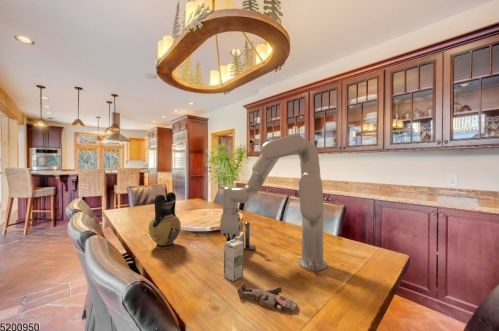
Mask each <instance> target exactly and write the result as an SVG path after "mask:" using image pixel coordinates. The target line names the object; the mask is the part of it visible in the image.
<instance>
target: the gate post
mask: <svg viewBox="0 0 499 331" xmlns="http://www.w3.org/2000/svg"><path fill="white" fill-rule="evenodd" d="M250 225H251V223H250V222H249V221H246V222H245V223H244V229H245V232H244V251H255V249H256V245H255V244H253V245H252V244H250V243H251V242H250V239H251V238H250V237H251V236H250V235H251V234H250Z"/></svg>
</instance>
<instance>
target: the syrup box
mask: <svg viewBox="0 0 499 331" xmlns="http://www.w3.org/2000/svg"><path fill="white" fill-rule="evenodd" d="M234 239H235V238H234ZM234 239H233V240H231V241H228V242H227V241H226V242H224V243H223V278H225V279H227V280H229V281H232V282H235V281H237V280H239V279H240V278H242V277H243V276H244V248H243V242H241V241H238V240H234Z"/></svg>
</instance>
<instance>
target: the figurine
mask: <svg viewBox="0 0 499 331" xmlns="http://www.w3.org/2000/svg"><path fill="white" fill-rule="evenodd" d="M246 284H247V283H246V282H245V281H243V282H242V283H241V286H238V288H237V289H236V290H237V295H238V297H239V298H241V299H243V298H247V299H248V298H249V299H251V300H252V299H253V300H255V301H256V302H259V304H260V305H261V306H262V307H265V308H269V309H272V310H274V309H275V310H277V312H280V313H281V312H284V313H287V314H288V313H289V314H294V313H296V309H297V308H298V303H297V302H295V301H293V300H292V299H290V298H288V297H286V296H283V295H281V293H282V290H283V289H282V288H283V287H282V286H277V287H273V288H270V289H266V290H263V289H259V288H253V287H247V285H246Z"/></svg>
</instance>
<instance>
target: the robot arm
mask: <svg viewBox="0 0 499 331" xmlns="http://www.w3.org/2000/svg"><path fill="white" fill-rule="evenodd" d="M293 155H297V156H298V158H299V160H300V161H299V162H300V164H299V165H300V167H299V168H300V179H299V182H298V194H299V195H298V196H299V209H300V210H299V212H300V214H301V257H300V258H298V265H299V266H300V267H301V268H302V269H304V270H308V271H315V272H316V271H323V270H325V269H327V267H328V263H327V261H326V260H325V259H324V212H325V209H324V195H323V194H324V191H323V181H322V180H323V179H322V178H321V177H322V176H321V167H320V157H319V153H318V150H317V148H316V146H315V145H314V144H313V143H312V142H311V141H309V140H307V139H305V138H304V137H303V136H301V135H300V134H297V133H295V134H290V135H289V134H288V135H286V136H283V137H279V138H276V139H271V140H268V141H266V142H265V143H263V144H262V146H261V148H260V154H259V157H258V159H256V161H255V163H254V164H253V165H252V168H251V169H252V170H251V175H250V178H249V180H248V181H247V183H246V184H245V186H242V187H237V186H225V187H224V188H223V193H222V194H223V195H222V197H223V198H222V213H221V216H220V222H219V224H220V226H219V230H220V232H219V233H220V235H222V236H224V237H225V239H226V242H228V241H231V240H233V239H235V238H236V237H238V236H240V233H241V232H242V223H241V215H240V212H241V209H240V208H239V203H240V204H245V203H248V202H250V201H251V200H253V199H254V198H255V197H256V195H257V194H258V193H259V192H260V190H261V188H262V186H263V184H264V183H265V181H266V180H267V178H268V176H269V175H270V173H271V171H272V170H273V168H274V167H275V165H276V164H277V163H278V161H279V159H280V158H284V157H289V156H293Z"/></svg>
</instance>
